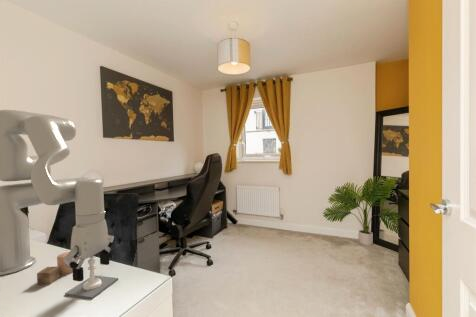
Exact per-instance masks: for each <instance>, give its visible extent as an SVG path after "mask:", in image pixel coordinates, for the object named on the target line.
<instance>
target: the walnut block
mask: <svg viewBox="0 0 476 317" xmlns="http://www.w3.org/2000/svg"><path fill="white" fill-rule="evenodd" d="M59 278H60V275H59V267H57V266H46V267H45V268H43V269H42V270H40V271H38V272H37V273H36V280H37V286H47V285H49V286H50V285H52V284H53V283H54V282H56V281H57V280H58V279H59Z"/></svg>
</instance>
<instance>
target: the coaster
mask: <svg viewBox="0 0 476 317" xmlns="http://www.w3.org/2000/svg"><path fill="white" fill-rule="evenodd" d="M95 278H96V279H100V280H101V282H102V283H101V285H100V286H98V287H96V288H94V289H90V290H84V289H83V285H84V284H85V283H86V282H87V281H88V280H89V277H88V278H86V279H85V280H83V281H81V282H80V283H79V284H77V285H76V286H74V287H72V288H71V289H70V290H68V291H66V292H65V293H64V295H65V296H67V297H68V296H69V297H76V298H80V299H81V298H83V299H88V300H93V299H95V298H96V297H97V296H99V295H100V294H101V293H103V292H104V291H106V290H107V289H108V288H110V287H111V286H113V284H115V283H116V282H118V280H119V277H114V276H113V277H112V276H111V277H110V276H103V275H96V274H95Z"/></svg>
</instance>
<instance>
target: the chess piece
mask: <svg viewBox="0 0 476 317" xmlns="http://www.w3.org/2000/svg"><path fill="white" fill-rule="evenodd" d="M95 262H96V259H95V255H93V256H91V257H89V258H88V260H87V263H88V265H89V267H88V268H87V270H88V271H89V277H88V278H89V280H88V281H87V282H86V283H85V284H84V285H83V289H84V290H90V289H94V288H96V287H98V286H100V285H101V283H102V282H101V280H100V279H96V278H95V275H96V274H95V269H96V267H97V266H96V265H95Z"/></svg>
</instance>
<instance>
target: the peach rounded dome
mask: <svg viewBox="0 0 476 317" xmlns="http://www.w3.org/2000/svg"><path fill="white" fill-rule="evenodd" d="M69 252H70V251H68V252H67V251H66V252H64V253H61V254H59V255H57V257H56V265H57V266H56V267H59V276H66V275H71V274H73V269H72V268H70V267H68V266H66V263H65V262H64V261H63V258H64V257H65V256H66V255H67V254H68V253H69ZM72 260H74V258H72Z"/></svg>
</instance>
